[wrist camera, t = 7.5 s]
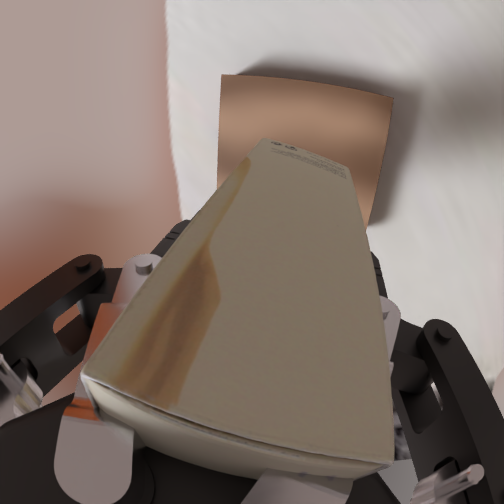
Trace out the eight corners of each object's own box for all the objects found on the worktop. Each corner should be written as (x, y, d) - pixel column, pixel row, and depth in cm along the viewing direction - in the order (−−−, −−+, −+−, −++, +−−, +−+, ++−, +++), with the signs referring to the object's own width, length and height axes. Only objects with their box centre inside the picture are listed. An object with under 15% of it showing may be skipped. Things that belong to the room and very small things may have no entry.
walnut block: (235, 75, 23) (221, 74, 20) (382, 96, 21) (393, 98, 18) (228, 205, 30) (216, 223, 27) (356, 227, 28) (361, 247, 25)
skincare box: (261, 134, 13) (57, 351, 3) (352, 166, 13) (420, 459, 2) (228, 248, 16) (120, 467, 6) (304, 274, 16) (264, 513, 6)
